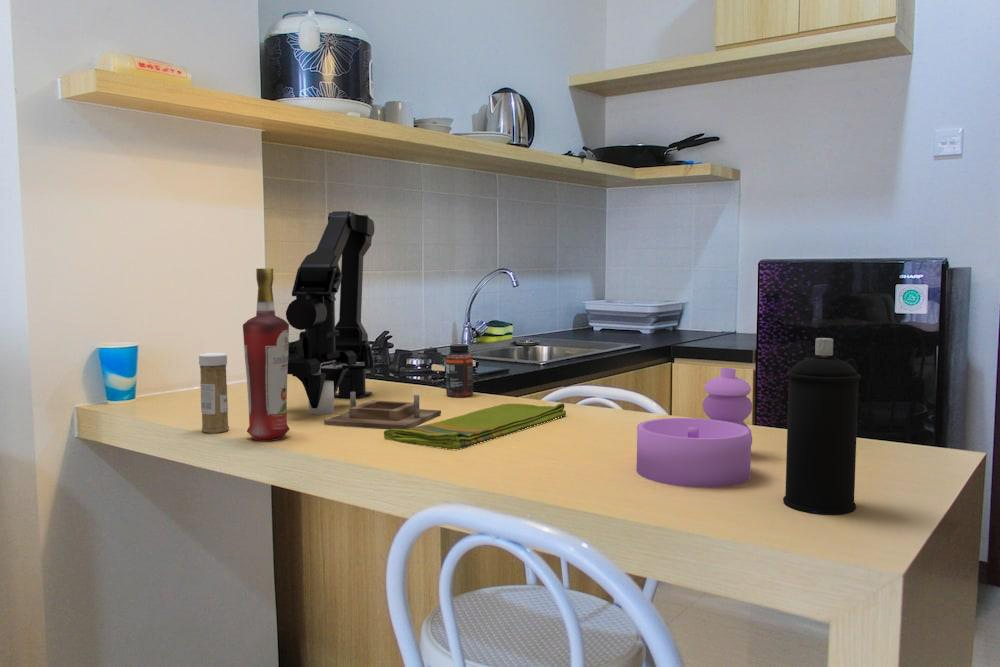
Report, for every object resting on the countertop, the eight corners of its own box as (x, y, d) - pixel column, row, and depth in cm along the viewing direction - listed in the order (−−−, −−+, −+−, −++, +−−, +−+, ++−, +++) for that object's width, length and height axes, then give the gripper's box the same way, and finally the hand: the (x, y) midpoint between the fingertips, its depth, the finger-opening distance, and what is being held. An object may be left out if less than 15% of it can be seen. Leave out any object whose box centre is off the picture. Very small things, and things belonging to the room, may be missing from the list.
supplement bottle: (473, 393, 187) (473, 343, 187) (473, 397, 182) (472, 345, 181) (446, 393, 187) (446, 343, 186) (445, 397, 181) (445, 345, 180)
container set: (727, 494, 106) (730, 390, 105) (618, 477, 114) (619, 381, 113) (784, 457, 126) (786, 370, 125) (687, 444, 135) (689, 363, 134)
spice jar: (233, 431, 145) (231, 353, 144) (208, 434, 142) (205, 355, 141) (221, 427, 148) (219, 351, 147) (196, 430, 145) (194, 353, 144)
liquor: (261, 432, 144) (257, 268, 142) (299, 434, 142) (296, 268, 140) (236, 440, 137) (232, 268, 135) (276, 443, 135) (272, 268, 133)
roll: (317, 409, 167) (316, 379, 166) (338, 411, 165) (338, 380, 165) (304, 413, 162) (303, 382, 162) (326, 415, 161) (325, 383, 160)
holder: (365, 410, 166) (365, 385, 166) (441, 414, 161) (440, 389, 161) (324, 424, 151) (324, 398, 151) (406, 430, 146) (405, 402, 146)
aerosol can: (857, 518, 95) (863, 342, 94) (780, 510, 98) (785, 340, 97) (855, 499, 103) (861, 336, 101) (784, 492, 106) (789, 334, 104)
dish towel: (380, 443, 139) (380, 423, 138) (501, 411, 168) (500, 395, 168) (455, 454, 130) (455, 434, 130) (568, 419, 160) (568, 402, 159)
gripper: (308, 321, 174) (310, 396, 175) (255, 328, 156) (257, 411, 157) (357, 323, 170) (358, 399, 171) (308, 330, 152) (310, 415, 154)
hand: (321, 406), depth 163 cm, fingers closed on roll, 5 cm apart
